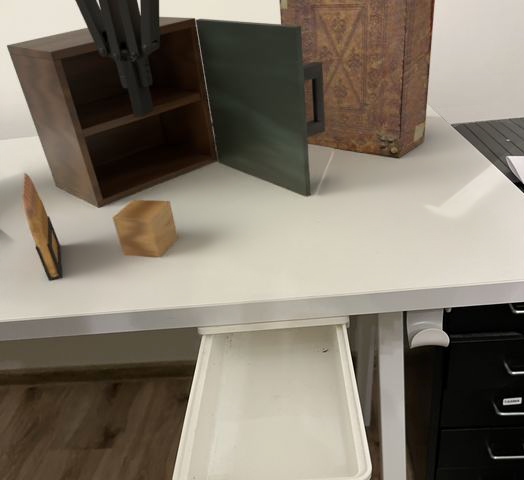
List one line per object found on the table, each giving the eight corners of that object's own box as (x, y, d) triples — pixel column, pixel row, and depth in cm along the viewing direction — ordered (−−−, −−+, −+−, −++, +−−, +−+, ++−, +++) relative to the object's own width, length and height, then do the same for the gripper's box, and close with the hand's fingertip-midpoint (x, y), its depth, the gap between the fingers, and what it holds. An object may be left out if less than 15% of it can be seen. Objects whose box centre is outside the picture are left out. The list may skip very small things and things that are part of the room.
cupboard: (218, 161, 108) (195, 18, 93) (99, 208, 95) (50, 51, 80) (168, 145, 119) (140, 15, 104) (55, 186, 107) (6, 45, 92)
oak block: (123, 255, 80) (112, 217, 76) (143, 236, 84) (133, 199, 81) (160, 258, 78) (150, 219, 74) (178, 238, 82) (169, 200, 79)
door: (246, 151, 110) (229, 12, 95) (337, 183, 92) (333, 17, 77) (218, 162, 107) (195, 19, 92) (306, 196, 89) (295, 27, 74)
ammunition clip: (62, 277, 77) (30, 195, 69) (48, 280, 76) (15, 199, 69) (60, 246, 85) (31, 169, 78) (48, 248, 85) (18, 172, 77)
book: (289, 141, 112) (275, -37, 94) (315, 127, 118) (307, -43, 99) (399, 158, 98) (409, -47, 80) (424, 142, 103) (438, -55, 85)
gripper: (160, -128, 59) (200, 104, 74) (60, -109, 63) (116, 106, 78) (125, -129, 54) (175, 121, 68) (18, -109, 58) (87, 123, 72)
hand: (144, 113), depth 73 cm, fingers closed
